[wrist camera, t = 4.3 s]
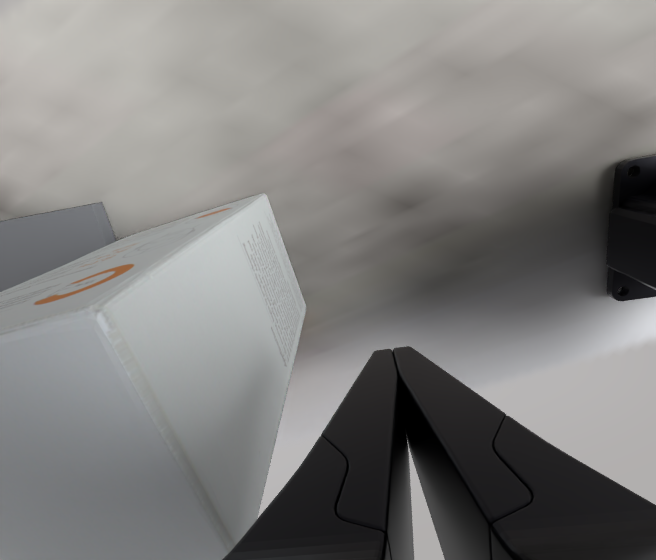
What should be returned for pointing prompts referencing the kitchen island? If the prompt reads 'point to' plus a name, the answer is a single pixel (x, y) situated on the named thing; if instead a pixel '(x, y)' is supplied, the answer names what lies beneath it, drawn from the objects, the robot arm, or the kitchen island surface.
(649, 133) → the kitchen island surface
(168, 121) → the kitchen island surface
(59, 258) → the mat
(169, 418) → the small box
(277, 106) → the kitchen island surface
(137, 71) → the kitchen island surface
